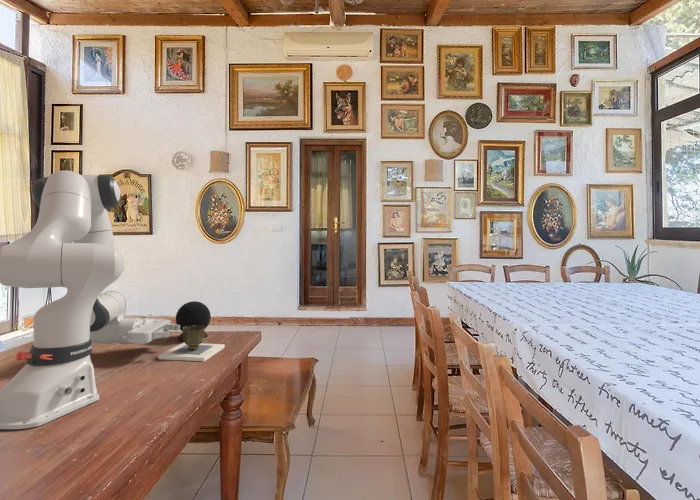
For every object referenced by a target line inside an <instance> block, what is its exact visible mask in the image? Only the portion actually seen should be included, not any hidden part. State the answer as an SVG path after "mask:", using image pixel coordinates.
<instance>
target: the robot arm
mask: <svg viewBox="0 0 700 500" xmlns="http://www.w3.org/2000/svg"><path fill="white" fill-rule="evenodd" d="M31 195H32V199H33V201H34V202H35V205H36V206H37V207H38V208H39V211H38V217H37V220H36V223H35V224H34V226H33V228H32V229H31V230H29V231H28V232H27V233H26V234H24V236H22V237H21V238H19V239H16V240H15V241H13V242H10V243H8V244H7V243H6V244H4V245H3V246H1V247H0V284H1V285H2V286H3V287H4V286H5V287H12V288H22V289H43V288H44V289H45V288H46V289H47V288H66V289H67V290H66V293H65V295H63V296H61V298H59V299H56V300H53V301H51V302H49V303H47V304H45V305H43V306H42V307H40V308H39V309H38V310H37V311H36V312H35V315H34V316H33V344H32V345H31V347H30V349H29V351H23V350H22V351H18V352H17V353H16V354H15V356H14V357H15V360H16V361H23V362H25V363H26V364H25V365H24V366H23V367H22V368H21V369H20V370H19V371H18V372H17V373H16V374H15V375H14V376H13V377H12V378H11V379H10V380H9V381H8V382H7V383H5V385H3V387H2V388H1V389H0V430H22V429H24V430H25V429H31V428H36V427H40V426H42V425H45V424H47V423H49V422H52V421H54V420H56V419H58V418H60V417H63V416H65V415H67V414H70V413H72V412H74V411H77V410H79V409H82V408H84V407H86V406H87V405H90V404H92V403H95V402H97V401H100V394H99V393H98V389H97V385H96V378H95V369H94V365H93V362H92V359H91V354H92V352H93V344H99V345H100V344H101V345H104V344H105V345H110V344H114V343H116V344H121V345H127V344H128V345H129V344H130V345H131V344H132V345H133V344H135V345H137V344H148V343H151V342H152V341H154V340H155V339H162V338H168V337H170V336H171V335H170V334H171V332H170V331H179V330H180V325H177V324H175V323H172V321H171V319H165V318H150V317H149V316H142V317H125V316H126V315H125V314H126V308H127V302H126V298H125V297H124V296H123V294H121V293H120V292H118V291H117V290H106V291H104V290H105V289H106V288H108V287H109V286H110V285H112V284H113V283H115V282H116V281H117V280H118V279H119V278H120V277H121V275H122V274H123V272H124V269H125V260H124V256H123V254H122V253H121V252H120V250H119V249H118V248H117V247H116V246H114V241H115V239H114V232H113V228H112V222H111V220H110V216H109V213H110V212H111V211H112V209H114V208H115V207H117V206H118V205H119V203H120V199H121V188H120V186H119V184H118V181H116V179H115V178H114V177H112V176H111V175H107V174H97V175H96V174H80V173H78V172H77V171H76V172H75V171H73V170H63V169H62V170H56V171H55V172H53V173H51V174H50V175H49V176H45V177H41V178H38V179H36V180H35V181H34V182H33V184H32V187H31Z"/></svg>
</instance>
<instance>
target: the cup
mask: <svg viewBox="0 0 700 500" xmlns="http://www.w3.org/2000/svg"><path fill="white" fill-rule="evenodd" d="M182 330H183V331H182V333H183V339H184V342H183V343H185V344H186V345H188V349H189V350H197V349H198V348H199V344H201V343H203V341H204V340H203V338H204V332H206V329H205V326H204V325H202V326H200V325H199V326H197V325H195V326H194V325H192V327H190V325H189V326H188V327H187V326H185V327H183V329H182Z"/></svg>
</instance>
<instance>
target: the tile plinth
mask: <svg viewBox="0 0 700 500" xmlns="http://www.w3.org/2000/svg"><path fill="white" fill-rule="evenodd" d="M225 345H226V344H221V343H219V344H218V343H203V342H202V343H201V344H199V348H198V349H197V350H189V349H188V345H186V344H185V342H182V343H180V344H178V345H176V346H175V347H172V348H170V349H168V350H166V351H165V352H162V353H161V354H159V355H158V357H157V359H158V360H165V361H166V360H168V361H169V360H171V361H172V360H173V361H187V362H188V361H190V362H205V361H207V360H209V359H210V358H211V357H213V356H214V355H216V354H217V353H219V352H221V351H222V350H223V349H225Z"/></svg>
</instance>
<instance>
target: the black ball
mask: <svg viewBox="0 0 700 500" xmlns="http://www.w3.org/2000/svg"><path fill="white" fill-rule="evenodd" d="M211 315H212V314H211V311H210V308H209V307H208V306H207V305H206V304H205V303H203V302H201V301H197V300H196V301H189V302H188V301H187V302H186V303H184V304H182V305H181V306H180V308H179V309H178V310H177V311H176V314H175V323H176V324H175V325H180V329H179V330H180V331H181V332H182V333H180V334H179V336H178V337H177V340H178V341H179V342H182V343H185V342H184V339H183V330H182V329H183V327H185V326H187V327H188V326H189V325H190V327H192V325H194V326H195V325H197V326H199V325H200V326H202V325H204V326H205V330H206V329H207V327H209V325H210V322H211V317H212V316H211ZM206 337H208V338H209V334H208V333H207V332H206V331H204V338H206Z"/></svg>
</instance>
